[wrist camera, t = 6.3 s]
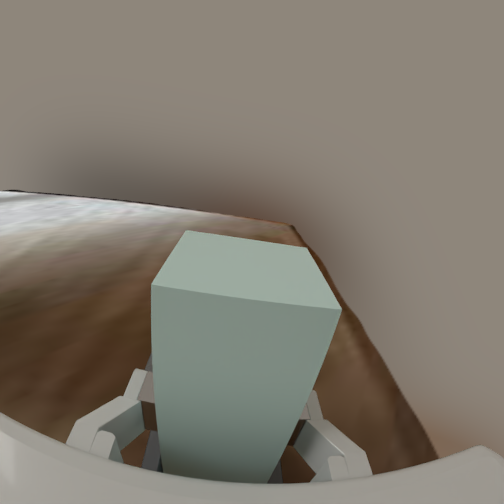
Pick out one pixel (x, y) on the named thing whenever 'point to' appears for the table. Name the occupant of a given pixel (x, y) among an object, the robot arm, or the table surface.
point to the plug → (235, 353)
